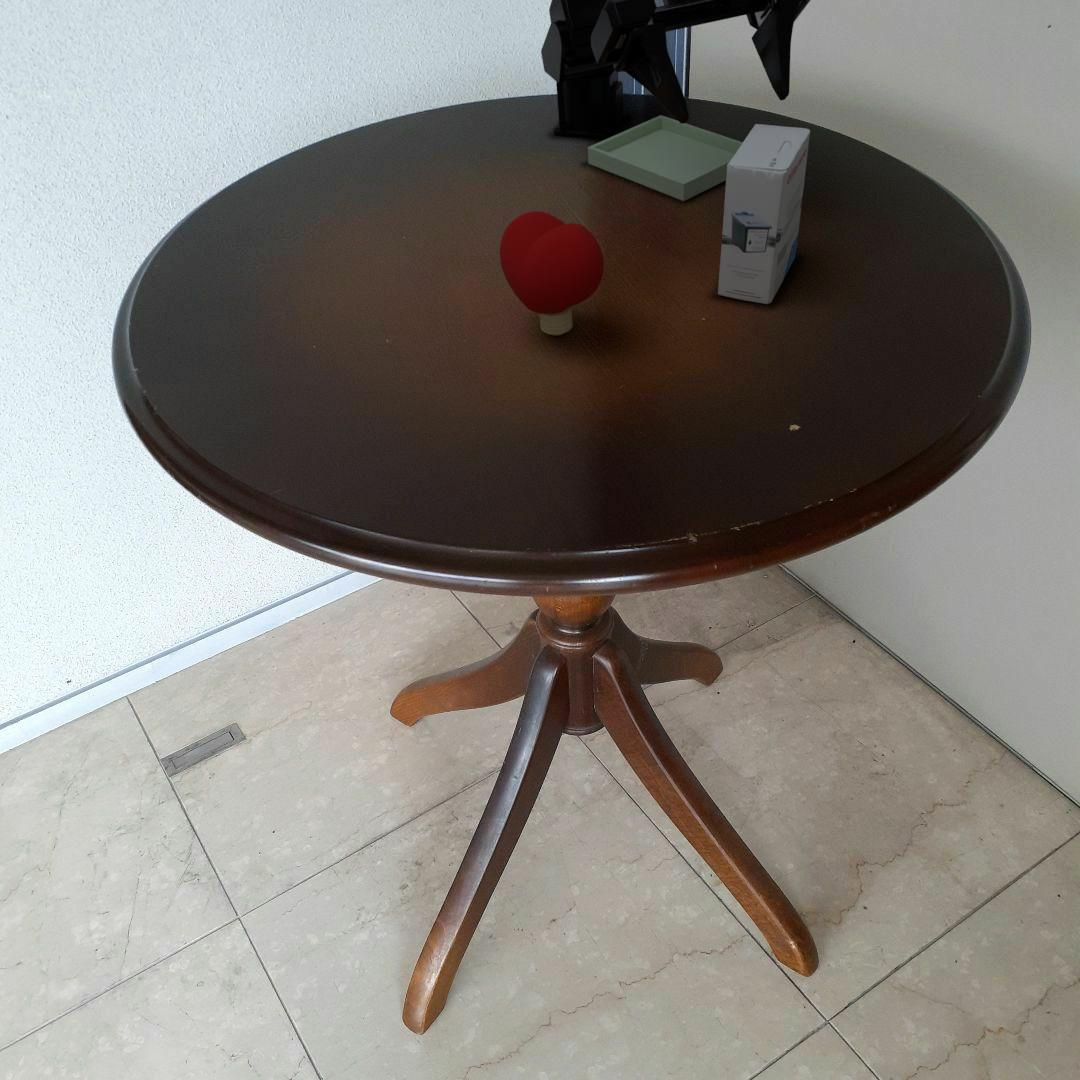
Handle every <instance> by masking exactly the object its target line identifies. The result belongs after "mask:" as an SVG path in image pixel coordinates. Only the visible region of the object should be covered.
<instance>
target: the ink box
mask: <svg viewBox="0 0 1080 1080" xmlns="http://www.w3.org/2000/svg"><path fill="white" fill-rule="evenodd" d="M810 135H811V129H809V128H805V127H794V126H784V125H773V124H772V125H771V124H764V123H763V124H761V123H755V124H754V126H752V128H751V130H750V131H749V133H748V134H747V136H746V137H745V139H744V140H743V141H742V142H743V143H742V145H741V146H740V148H739V149H738V150H737V152H736V153H735V155H734V156H733V158H732V159H731V161H730V162H729V163H728V165H727V175H726V180H725V191H724V205H723V208H724V209H723V222H722V236H721V244H720V245H721V246H720V259H719V260H720V261H719V270H718V271H719V273H718V285H717V286H718V287H717V295H718V296H723V297H727V298H730V299H731V298H732V299H735V300H741V301H747V302H751V303H752V302H753V303H758V304H764V305H769V304H771V303H772V302H773V300H774V298H775V296H776V294H777V293H778V291H779V289H780V288H781V285H782V283H783V281H784V279H785V278H786V276H787V273H789V270H790V268H791V266H792V264H793V262H794V261H795V259H796V255H797V246H798V239H799V229H800V223H801V222H800V221H801V213H802V205H803V196H804V195H803V194H804V187H805V180H806V170H807V162H808V154H809V153H808V152H809V145H810Z"/></svg>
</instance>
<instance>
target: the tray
mask: <svg viewBox="0 0 1080 1080" xmlns="http://www.w3.org/2000/svg"><path fill="white" fill-rule="evenodd" d="M743 142H744V141H740V140H737V139H734V138H731V137H728V136H725V135H722V134H719V133H716V132H713V131H710V130H707V129H704V128H701V127H698V126H694V125H692V124H689V123H687V122H686V123H684V124H681V123H680V122H679V121H678V120H677V119H674V118H671V117H668V116H665V115H661V114H660V115H658V116H655V117H653V118H651V119H649V120H647V121H644V122H642V123H640V124H638V125H635V126H633V127H631V128H629V129H626V130H624V131H622V132H619V133H617V134H615V135H612V136H609V137H607V138H605V139H604V140H601V141H599V142H596V143H595V144H594V143H593V144H591V145H590V146H588V147H587V161H588V165H591V166H593V167H596V168H598V169H601V170H603V171H605V172H609V173H611V174H614V175H616V176H619V177H622V178H624V179H626V180H628V181H631V182H634V183H636V184H639V185H642V186H644V187H645V188H646V187H647V188H649V189H651V190H653V191H657V192H659V193H661V194H665V195H667V196H669V197H672V198H674V199H677V200H680V201H682V202H685V201H688V200H689V199H692V198H693V197H694V196H697V195H699V194H701V193H703V192H705V191H708V190H709V189H711V188H714V187H715V186H717V185H719V184H721V183H724V182H726V175H727V165H728V163H729V162H730V161H731V159H732V158H733V156H734V155H735V153H736V152H737V150H738V149H739V148H740V146H741V145H742V143H743Z"/></svg>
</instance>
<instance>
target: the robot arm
mask: <svg viewBox="0 0 1080 1080" xmlns="http://www.w3.org/2000/svg"><path fill="white" fill-rule="evenodd" d="M662 2H663V5H661V6H658V5H657V4H656V3H657V2H656V1H655V0H551V2H550V5H549V8H548V9H549V10H548V13H549V19H550V25H549V27H548V30H547V33H546V35H545V39H544V42H543V44H542V46H541V50H540V52H541V60H542V66H543V70H544V73H546V74H547V75H548V76H549V77H550V78H552V79H553V80H554V81H555V83H556V84H555V85H556V99H557V113H558V123H557V125H556V126H555V127H554V128H553V134H554V135H558V136H572V137H586V138H600V139H608V138H610V136H611V134H612V133H613V132H614V131H615V129H616V128H618V126H619V124H620V123H621V122H622V121H623V120H624V118H625V112H624V83H623V81H622V80H619V73H622V72H624V73H626V74H627V75H629V76H630V77H631V78H632V79H634V80H635V81H636V82H637V83H638V84H639V85H641V86H642V87H643V88H645V89H646V90H647V91H648V92H649V93H650V94H651V95H652V96H653V97H654V98H655V99H656V100H657V102H659V103H660V104H661V105H662V106H663V107H664V108H665V109H666V110H667V112H669V113H670V114H671V115H672V117H674V118H675V120H677V121H679V122H680V123H681V124H684V123H686V124H687V122H688V120H689V119H690V114H689V110H688V106H687V101H686V97H685V95H684V93H683V89H682V86H681V84H680V81H679V78H678V76H677V73H676V71H675V67H674V65H673V62H672V59H671V57H670V55H669V50H668V44H667V42H668V41H667V33H668V32H672V31H678V30H681V29H685V28H691V27H695V26H696V27H697V26H700V25H704V24H709V23H714V22H718V21H719V22H720V21H723V20H728V19H733V18H738V17H742V16H746V18H747V21H748V24H749V26H750V27H752V28H753V29H755V32H754V34H753V35H752V36H751V41H752V43H753V45H754V49H755V50H756V53H757V55H758V57H759V60H760V62H761V64H762V67H763V69H764V72H765V73H766V76H767V78H768V80H769V83H770V86H771V88H772V89H773V91H774V92H775V95H776V96H777V98H778V100H780V101H785V100H786V99H787V98H788V96H789V95H790V87H791V85H790V83H791V82H790V81H791V50H792V49H791V47H792V37H793V36H792V35H793V30H794V24H795V22H796V20H797V19H799V16H800V15H801V13H802V12H803V11H804V10H805V8H806V7H807V6H808V5H809V3H810V2H811V0H662Z"/></svg>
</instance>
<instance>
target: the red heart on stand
mask: <svg viewBox="0 0 1080 1080" xmlns="http://www.w3.org/2000/svg"><path fill="white" fill-rule="evenodd" d="M594 235H595V234H593V233H592V232H591V231H590V230H589V229H588V228H587V227H586V226H584V225H582V224H579V223H576V222H575V223H573V222H571V223H565V221H563V220H561V219H560V218H558V217H556V216H554V215H552V214H551V213H547V212H544V211H539V210H534V211H533V210H532V211H528V212H524V213H522V214H520V215H518V216H516V217H515V218H514V219H513V220H512V221H511V222H509V224H508V225H507V227H506V228H505V230H504V232H503V234H502V236H501V240H500V244H499V259H500V260H499V261H500V266H501V270H502V273H503V275H504V277H505V280H506V282H507V284H508V285H509V287H510V288H511V290H512V292H513V293H514V296H516V297H517V298H518V300H519V301H520V302H521V303H522V304H523V305H524V306H525V308H527V310H528V311H530V312H533V313H536V314H539V324H540V325H539V326H540V329H541V331H542V333H545V334H547V335H550V336H552V337H554V338H560V337H562V336H563V335H565V334H566V333H567V332H569V331H570V330H571V329H572V328H573V324H574V323H573V315H572V312H573V311H572V310H573V306H576V305H579V304H581V303H583V302H585V301H586V300H588V299H589V298H590V297H592V295H594V293H595V292H596V291H597V290H598V288H599V286H600V284H601V283H602V279H603V275H604V270H605V260H604V255H603V251H602V248H601V246H600V244H599V242H598V240H597V238H596V237H595V236H594Z"/></svg>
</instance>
